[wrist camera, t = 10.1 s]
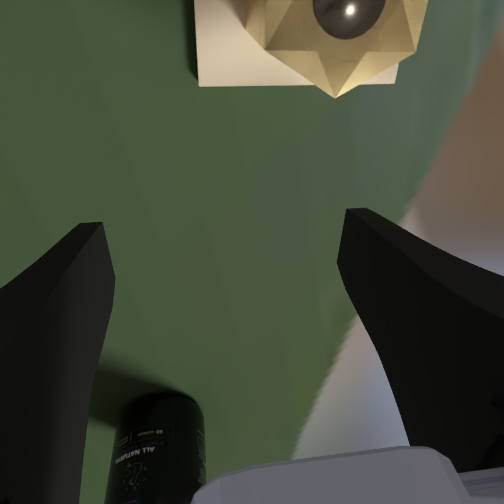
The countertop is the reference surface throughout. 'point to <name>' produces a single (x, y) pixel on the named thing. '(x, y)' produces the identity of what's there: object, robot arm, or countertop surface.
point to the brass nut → (336, 36)
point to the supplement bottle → (157, 452)
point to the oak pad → (243, 51)
